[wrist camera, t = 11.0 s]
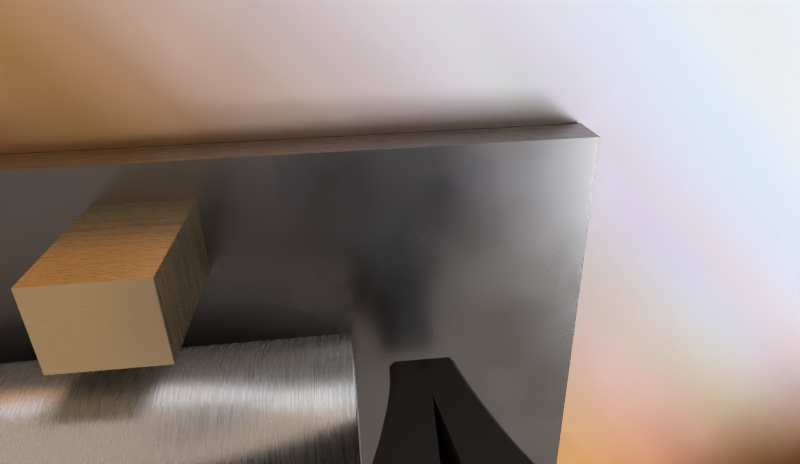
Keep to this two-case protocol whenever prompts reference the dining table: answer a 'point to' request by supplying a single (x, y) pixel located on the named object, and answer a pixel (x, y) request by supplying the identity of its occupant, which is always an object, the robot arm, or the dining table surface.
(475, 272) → the plate
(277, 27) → the dining table surface
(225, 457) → the tube
